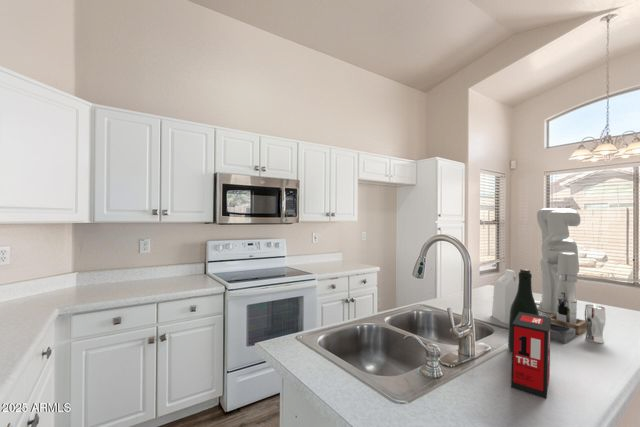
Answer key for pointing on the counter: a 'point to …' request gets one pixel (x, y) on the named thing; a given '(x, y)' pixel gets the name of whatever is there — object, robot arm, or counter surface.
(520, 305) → the dark green wine bottle
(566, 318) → the syrup box
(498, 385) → the counter surface
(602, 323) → the beer glass
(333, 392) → the counter surface
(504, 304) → the milk
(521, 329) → the cleaning product box
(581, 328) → the walnut holder
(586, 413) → the counter surface
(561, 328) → the gray square frame
